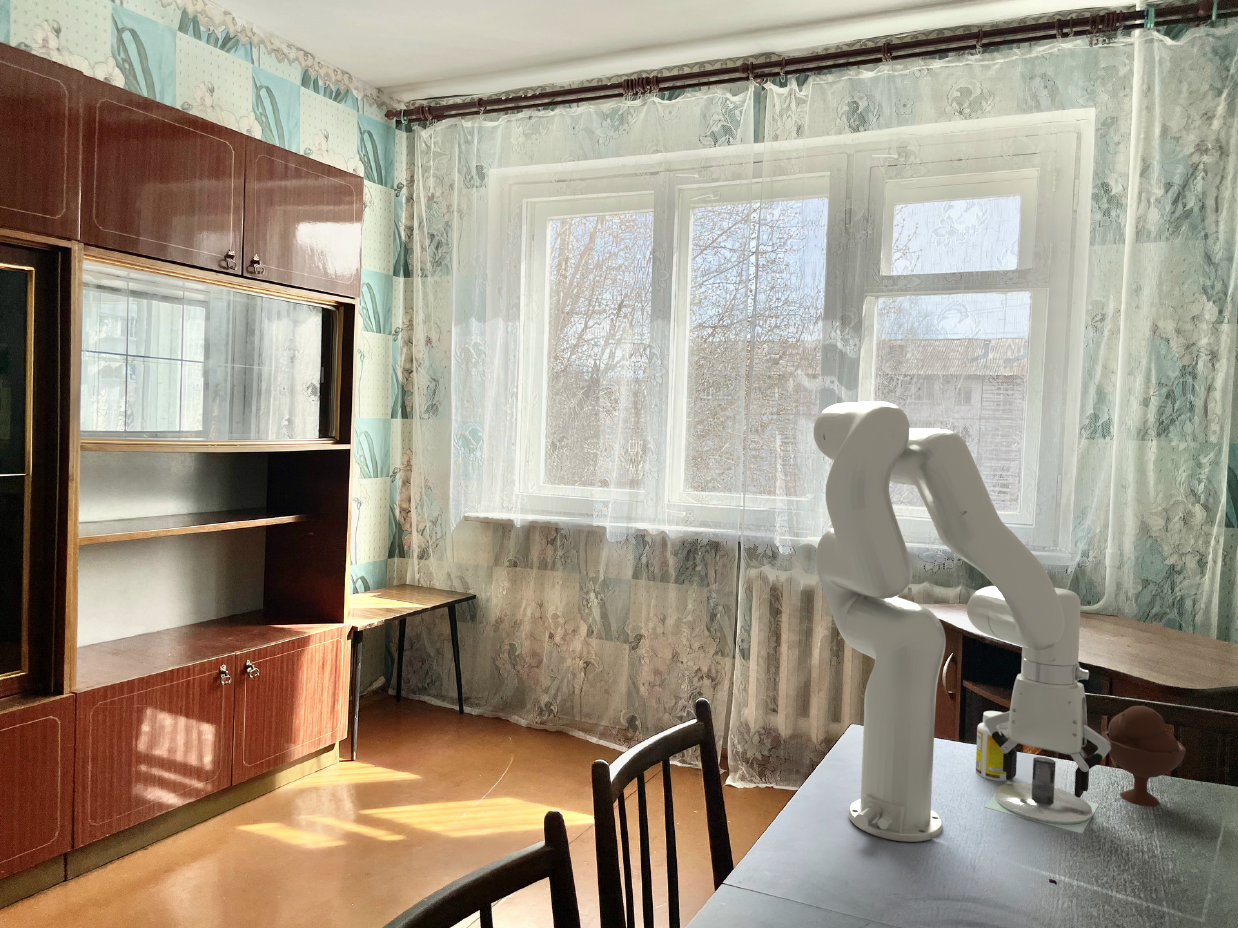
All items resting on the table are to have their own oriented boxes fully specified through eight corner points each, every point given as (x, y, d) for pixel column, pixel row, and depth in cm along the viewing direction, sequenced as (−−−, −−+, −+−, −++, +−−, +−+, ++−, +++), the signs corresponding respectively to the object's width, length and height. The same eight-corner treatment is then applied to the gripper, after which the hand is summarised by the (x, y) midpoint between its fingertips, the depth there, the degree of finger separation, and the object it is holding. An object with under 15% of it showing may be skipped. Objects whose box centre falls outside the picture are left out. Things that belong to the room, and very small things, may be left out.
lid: (1081, 833, 123) (1084, 785, 122) (984, 806, 130) (986, 761, 130) (1099, 803, 133) (1101, 759, 133) (1007, 780, 141) (1009, 738, 140)
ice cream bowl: (1198, 817, 130) (1204, 717, 129) (1121, 814, 130) (1127, 714, 129) (1156, 788, 140) (1161, 695, 140) (1085, 786, 141) (1090, 693, 140)
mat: (1081, 836, 123) (1082, 833, 123) (984, 809, 130) (984, 806, 130) (1099, 806, 133) (1099, 803, 133) (1007, 783, 141) (1007, 780, 141)
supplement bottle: (1020, 780, 142) (1023, 717, 142) (995, 785, 140) (998, 721, 139) (991, 768, 147) (994, 707, 147) (967, 772, 145) (970, 711, 144)
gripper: (1119, 677, 129) (1114, 793, 129) (994, 656, 139) (990, 764, 140) (1110, 688, 123) (1105, 810, 123) (981, 666, 133) (976, 778, 134)
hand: (1044, 785), depth 132 cm, fingers open, 9 cm apart
